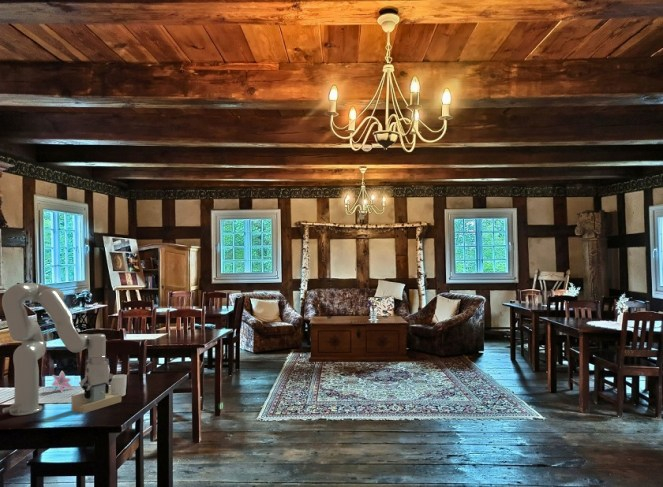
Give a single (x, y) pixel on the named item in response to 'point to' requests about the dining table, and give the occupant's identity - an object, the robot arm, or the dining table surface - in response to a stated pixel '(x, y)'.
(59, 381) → the lily
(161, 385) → the dining table surface
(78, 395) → the cleat board
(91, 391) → the cabinet
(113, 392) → the white cup
